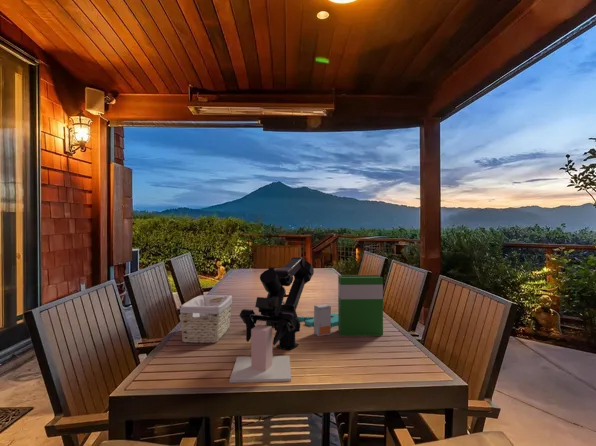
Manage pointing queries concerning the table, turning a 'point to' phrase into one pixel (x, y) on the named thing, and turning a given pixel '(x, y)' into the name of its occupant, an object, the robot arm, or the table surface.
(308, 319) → the alien figure
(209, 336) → the storage basket
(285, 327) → the robot arm
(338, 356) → the table surface
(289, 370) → the white square plate
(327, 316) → the skincare box
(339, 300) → the green cereal box
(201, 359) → the table surface
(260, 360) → the rose card box
